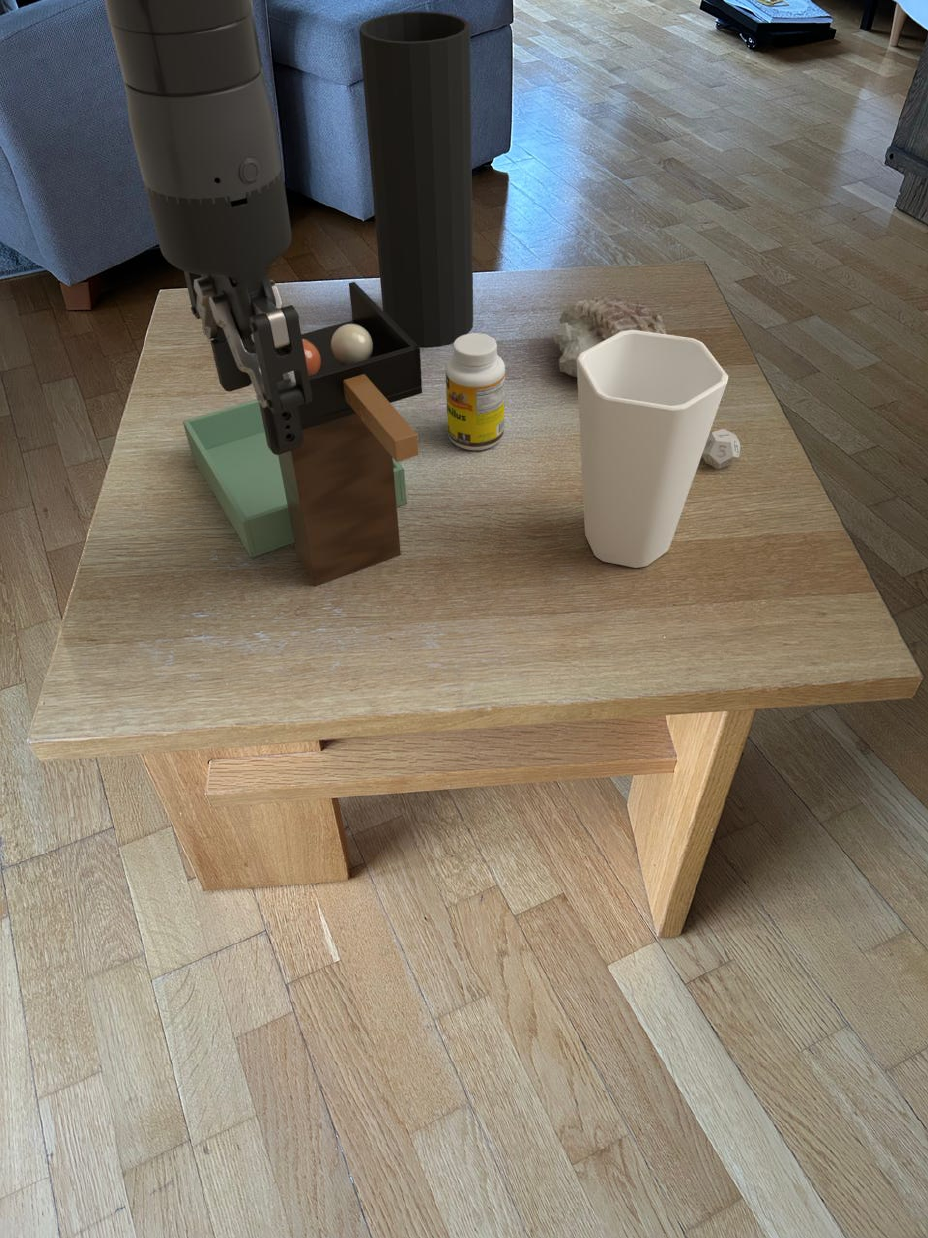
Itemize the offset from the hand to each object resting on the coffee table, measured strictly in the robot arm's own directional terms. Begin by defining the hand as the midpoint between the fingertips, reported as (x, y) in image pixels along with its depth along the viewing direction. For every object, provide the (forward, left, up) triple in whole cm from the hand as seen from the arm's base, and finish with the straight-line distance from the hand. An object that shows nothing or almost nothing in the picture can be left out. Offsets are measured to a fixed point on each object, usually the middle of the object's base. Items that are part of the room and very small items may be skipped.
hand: (261, 416), depth 64 cm
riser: (+6, +5, -19) cm, 21 cm away
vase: (+30, +37, -19) cm, 51 cm away
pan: (+6, 0, -1) cm, 6 cm away
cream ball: (+8, +4, +1) cm, 9 cm away
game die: (+42, 0, -19) cm, 46 cm away
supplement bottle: (+24, +15, -19) cm, 34 cm away
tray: (+6, +17, -19) cm, 26 cm away
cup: (+28, -5, -19) cm, 35 cm away
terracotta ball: (+4, +4, +1) cm, 6 cm away
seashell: (+42, +19, -19) cm, 50 cm away
